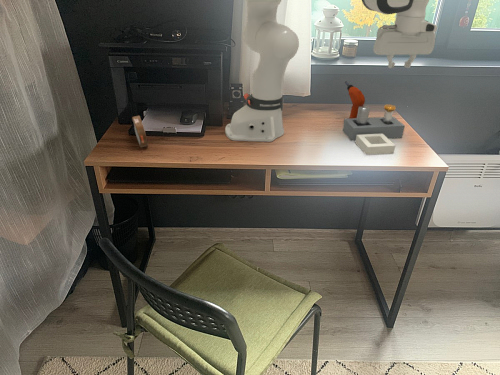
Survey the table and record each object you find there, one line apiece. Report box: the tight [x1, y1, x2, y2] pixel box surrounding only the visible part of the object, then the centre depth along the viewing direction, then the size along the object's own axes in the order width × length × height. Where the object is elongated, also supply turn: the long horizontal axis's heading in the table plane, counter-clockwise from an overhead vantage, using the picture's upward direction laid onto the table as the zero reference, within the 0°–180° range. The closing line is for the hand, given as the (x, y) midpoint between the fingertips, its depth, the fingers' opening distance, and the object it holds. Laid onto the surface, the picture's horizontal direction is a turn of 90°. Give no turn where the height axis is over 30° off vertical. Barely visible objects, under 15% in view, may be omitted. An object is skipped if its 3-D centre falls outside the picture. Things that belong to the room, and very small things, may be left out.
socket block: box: [342, 116, 406, 142], centre depth 143 cm, size 20×9×5 cm, turn 99°
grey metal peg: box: [356, 104, 371, 126], centre depth 141 cm, size 4×4×11 cm
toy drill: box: [344, 80, 366, 118], centre depth 152 cm, size 5×19×15 cm, turn 8°
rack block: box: [354, 134, 396, 156], centre depth 134 cm, size 10×10×3 cm
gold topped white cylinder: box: [383, 104, 397, 125], centre depth 142 cm, size 4×4×9 cm
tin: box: [131, 115, 149, 148], centre depth 133 cm, size 15×3×8 cm, turn 22°
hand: (398, 67), depth 132 cm, fingers open, 5 cm apart
